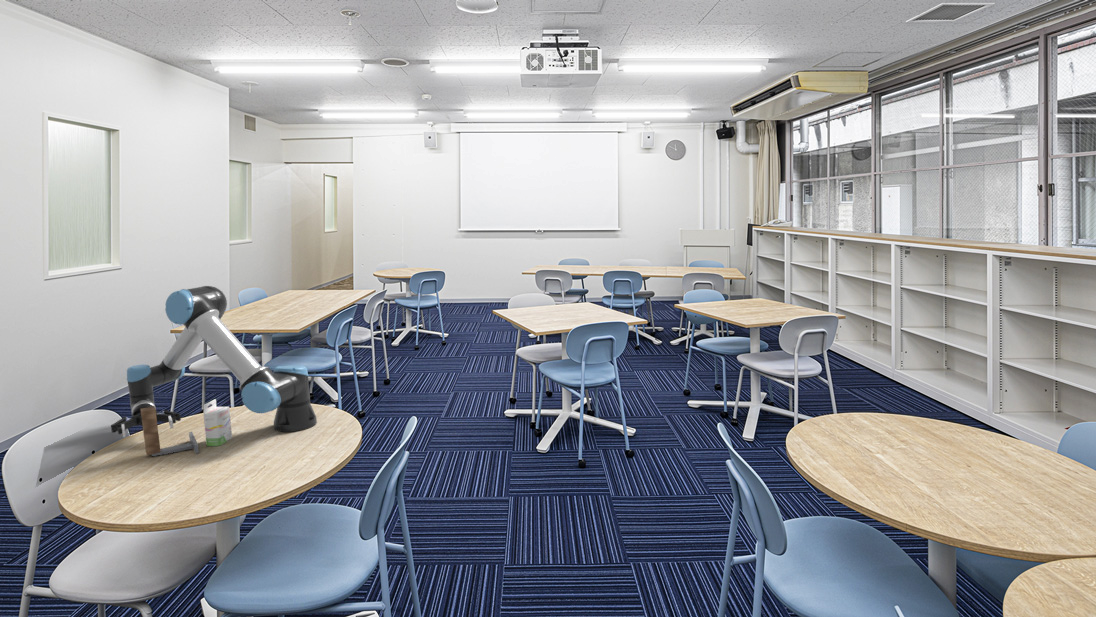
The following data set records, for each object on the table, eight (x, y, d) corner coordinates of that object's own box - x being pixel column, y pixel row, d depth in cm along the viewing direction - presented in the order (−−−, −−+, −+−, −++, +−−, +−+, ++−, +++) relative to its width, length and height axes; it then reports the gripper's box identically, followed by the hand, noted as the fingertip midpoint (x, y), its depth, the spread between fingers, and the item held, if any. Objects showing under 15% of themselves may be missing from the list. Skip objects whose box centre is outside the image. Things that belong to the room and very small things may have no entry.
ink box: (220, 446, 217) (215, 405, 214) (206, 446, 217) (201, 405, 215) (233, 437, 225) (229, 397, 223) (219, 437, 225) (215, 398, 223)
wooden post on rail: (192, 439, 223) (188, 396, 221) (198, 452, 210) (193, 407, 208) (145, 449, 215) (139, 404, 212) (148, 463, 202) (142, 416, 200)
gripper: (184, 416, 234) (191, 431, 217) (103, 430, 220) (104, 448, 203) (182, 396, 233) (189, 410, 216) (101, 410, 219) (101, 426, 202)
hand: (148, 428), depth 210 cm, fingers open, 13 cm apart
